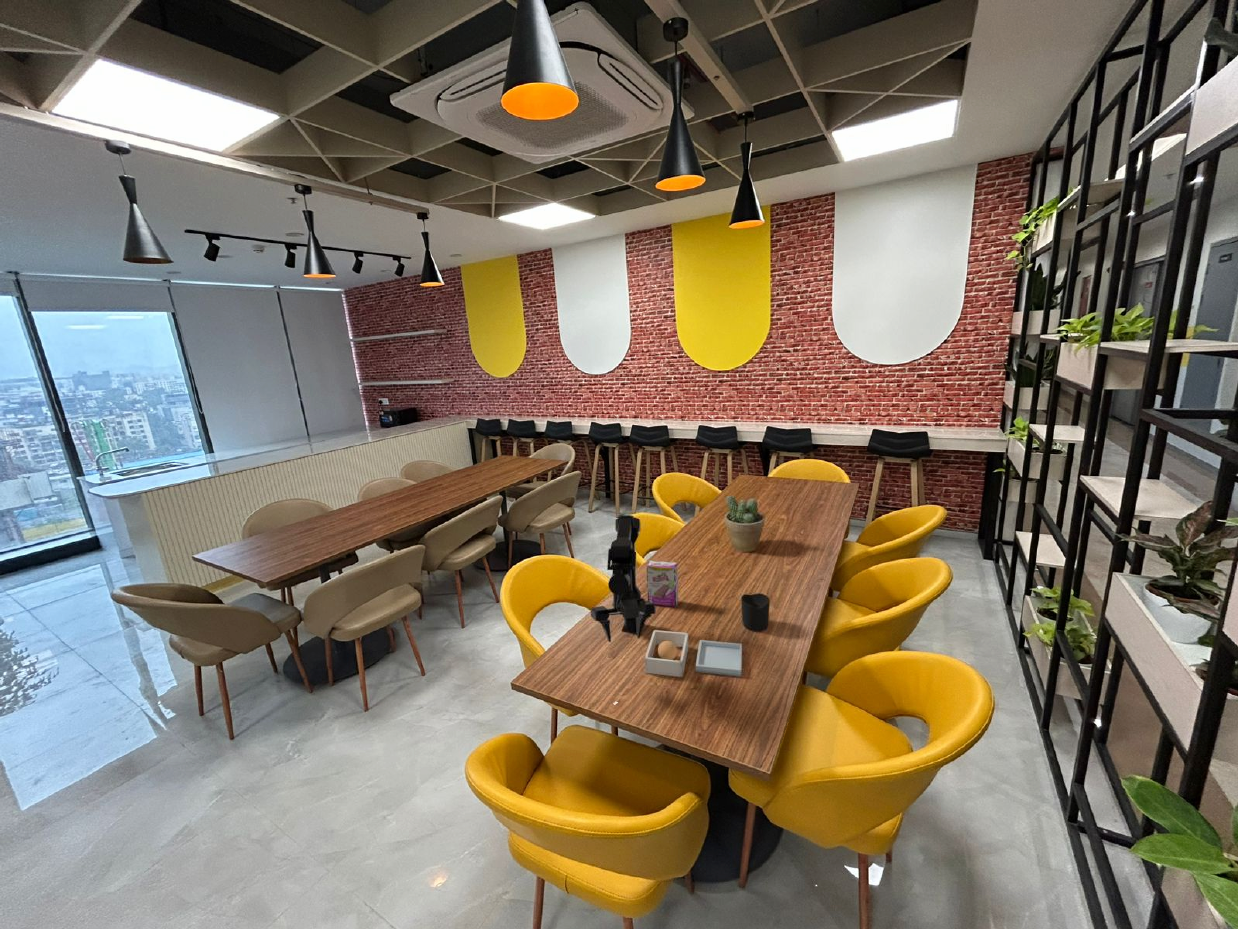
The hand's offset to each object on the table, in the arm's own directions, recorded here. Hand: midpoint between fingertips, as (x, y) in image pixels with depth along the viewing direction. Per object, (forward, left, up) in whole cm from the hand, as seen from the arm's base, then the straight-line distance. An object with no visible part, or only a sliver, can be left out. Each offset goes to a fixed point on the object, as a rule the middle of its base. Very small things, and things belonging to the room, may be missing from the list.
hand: (624, 639), depth 147 cm
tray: (-12, +27, -13) cm, 32 cm away
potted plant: (-100, +34, -13) cm, 107 cm away
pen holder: (-34, +38, -13) cm, 53 cm away
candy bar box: (-44, +4, -13) cm, 46 cm away
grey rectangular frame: (-10, +11, -13) cm, 20 cm away
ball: (-10, +11, -10) cm, 18 cm away
